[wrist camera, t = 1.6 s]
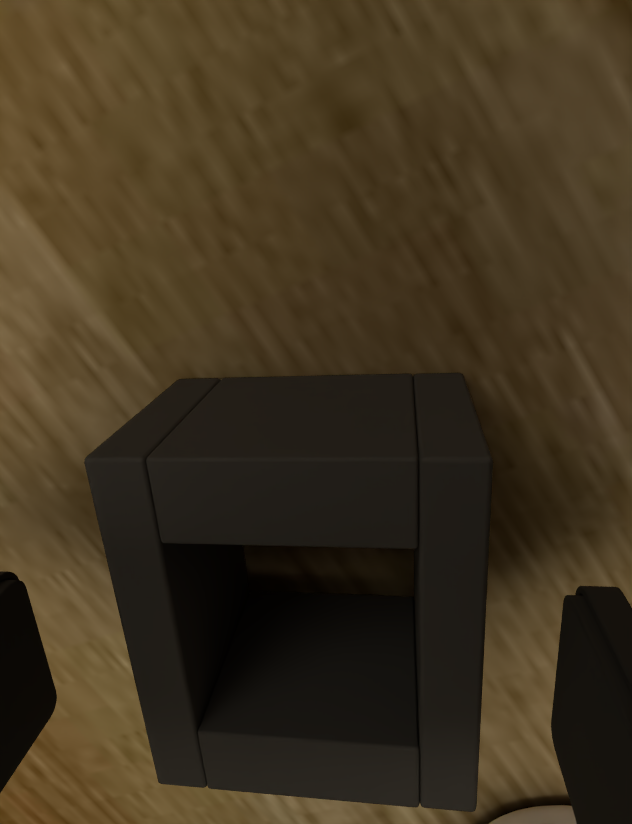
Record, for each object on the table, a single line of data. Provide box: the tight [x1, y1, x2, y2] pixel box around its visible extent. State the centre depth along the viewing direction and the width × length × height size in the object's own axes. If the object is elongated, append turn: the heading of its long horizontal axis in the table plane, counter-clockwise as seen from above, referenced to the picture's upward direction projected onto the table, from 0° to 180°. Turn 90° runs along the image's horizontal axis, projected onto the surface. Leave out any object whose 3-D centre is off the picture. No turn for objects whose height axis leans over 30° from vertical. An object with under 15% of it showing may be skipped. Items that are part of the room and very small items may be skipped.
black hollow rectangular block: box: [84, 373, 493, 812], centre depth 11 cm, size 7×6×4 cm
